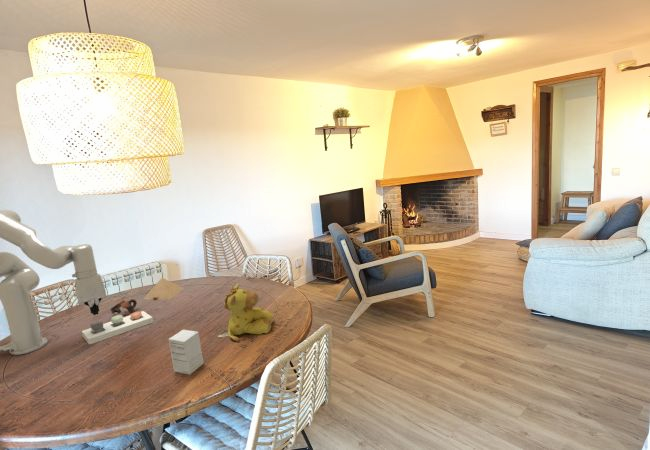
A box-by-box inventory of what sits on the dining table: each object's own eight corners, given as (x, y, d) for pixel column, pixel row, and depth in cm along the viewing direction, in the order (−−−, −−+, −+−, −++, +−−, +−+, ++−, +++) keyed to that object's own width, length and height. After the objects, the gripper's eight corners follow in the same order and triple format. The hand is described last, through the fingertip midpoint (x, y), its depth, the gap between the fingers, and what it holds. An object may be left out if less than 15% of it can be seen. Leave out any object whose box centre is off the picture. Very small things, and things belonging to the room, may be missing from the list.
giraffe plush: (281, 328, 156) (277, 285, 153) (227, 348, 143) (221, 301, 140) (260, 313, 173) (256, 274, 169) (211, 330, 160) (205, 288, 156)
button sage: (114, 328, 164) (112, 320, 163) (111, 325, 167) (109, 317, 167) (125, 324, 167) (123, 316, 167) (122, 321, 171) (120, 314, 170)
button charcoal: (93, 335, 159) (91, 327, 158) (90, 332, 162) (89, 324, 161) (105, 331, 162) (103, 323, 161) (102, 328, 165) (101, 320, 164)
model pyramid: (141, 300, 203) (138, 283, 201) (159, 289, 219) (156, 273, 218) (169, 300, 200) (166, 282, 198) (185, 288, 217) (183, 272, 215)
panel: (89, 344, 155) (88, 339, 154) (82, 336, 163) (81, 330, 163) (153, 322, 172) (152, 317, 172) (144, 315, 181) (143, 310, 180)
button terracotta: (133, 324, 170) (132, 316, 169) (130, 321, 173) (129, 314, 172) (144, 320, 173) (142, 313, 172) (140, 318, 176) (139, 310, 176)
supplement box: (188, 360, 136) (183, 328, 134) (204, 363, 133) (199, 331, 131) (173, 371, 130) (167, 338, 127) (189, 375, 127) (184, 341, 124)
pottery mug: (123, 320, 178) (112, 307, 177) (116, 325, 184) (105, 312, 183) (143, 305, 187) (133, 292, 186) (136, 310, 193) (126, 297, 192)
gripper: (67, 280, 149) (77, 322, 153) (108, 270, 159) (116, 310, 163) (64, 277, 155) (73, 318, 158) (104, 267, 165) (112, 306, 168)
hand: (95, 313), depth 161 cm, fingers closed
